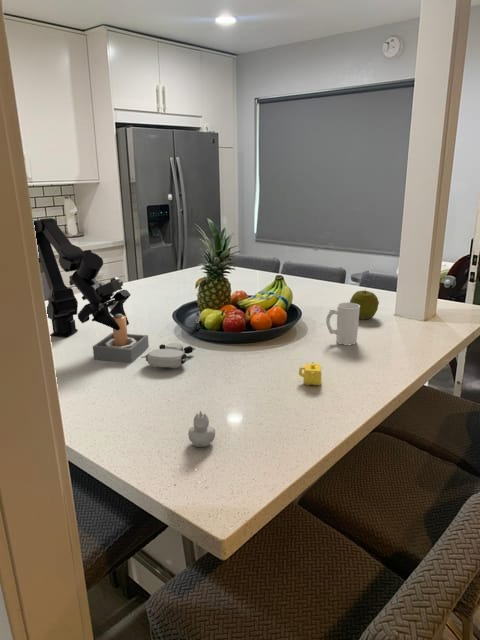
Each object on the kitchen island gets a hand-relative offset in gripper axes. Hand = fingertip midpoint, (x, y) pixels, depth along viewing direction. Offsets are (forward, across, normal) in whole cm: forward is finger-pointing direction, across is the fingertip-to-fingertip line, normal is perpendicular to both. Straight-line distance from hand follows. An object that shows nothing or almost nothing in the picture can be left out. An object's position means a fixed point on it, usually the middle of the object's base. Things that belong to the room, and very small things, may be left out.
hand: (123, 327), depth 142 cm
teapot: (+46, +2, -34) cm, 57 cm away
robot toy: (+17, 0, -5) cm, 18 cm away
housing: (+5, 0, +7) cm, 9 cm away
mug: (+47, +34, -35) cm, 67 cm away
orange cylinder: (+4, 0, +6) cm, 7 cm away
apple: (+49, +61, -36) cm, 86 cm away
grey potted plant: (+37, -34, -24) cm, 56 cm away
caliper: (+12, +36, +1) cm, 38 cm away
